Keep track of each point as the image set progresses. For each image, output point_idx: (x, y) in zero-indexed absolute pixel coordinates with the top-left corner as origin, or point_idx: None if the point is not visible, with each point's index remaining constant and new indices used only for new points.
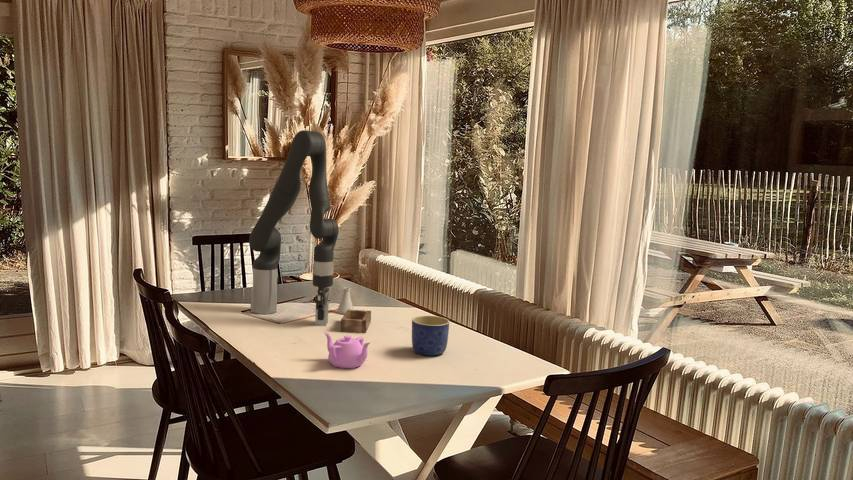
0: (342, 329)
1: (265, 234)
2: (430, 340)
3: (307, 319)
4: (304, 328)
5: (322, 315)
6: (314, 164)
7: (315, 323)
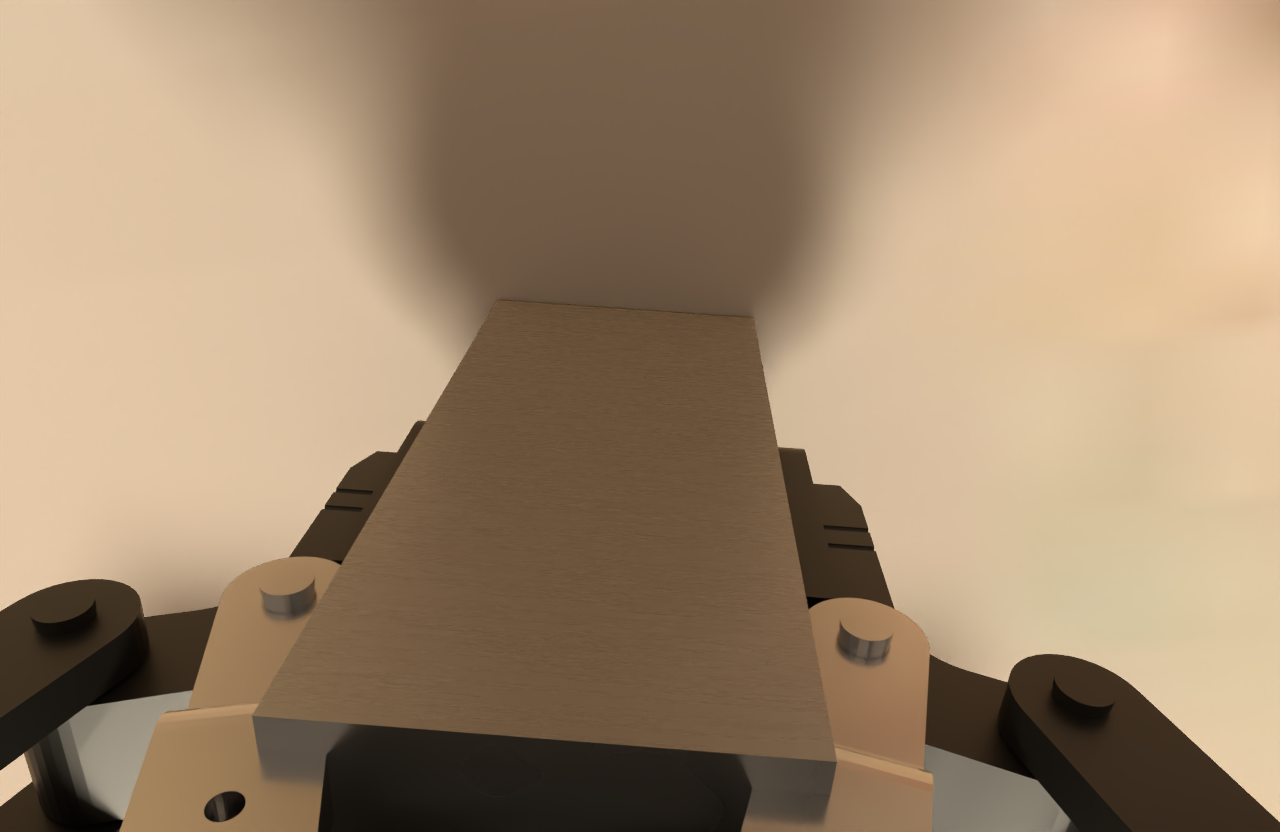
0: None
1: None
2: None
3: (1033, 24)
4: (141, 85)
5: None
6: None
7: (491, 318)
